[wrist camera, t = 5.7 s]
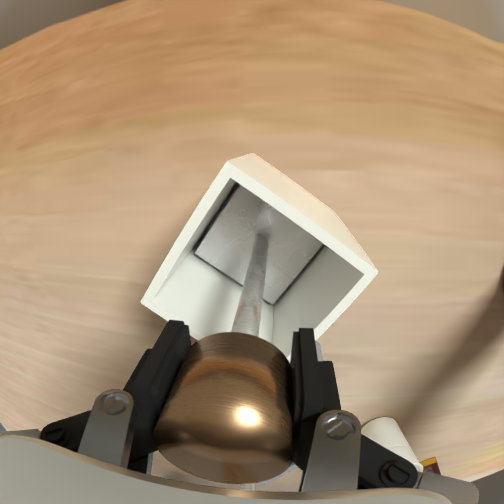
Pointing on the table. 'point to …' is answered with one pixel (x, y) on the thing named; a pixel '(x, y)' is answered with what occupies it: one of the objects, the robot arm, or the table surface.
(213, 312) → the white open box
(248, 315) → the bronze knobbed rod
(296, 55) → the table surface
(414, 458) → the cup
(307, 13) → the table surface
